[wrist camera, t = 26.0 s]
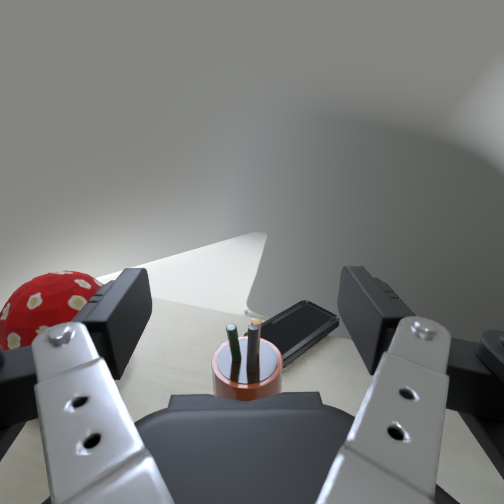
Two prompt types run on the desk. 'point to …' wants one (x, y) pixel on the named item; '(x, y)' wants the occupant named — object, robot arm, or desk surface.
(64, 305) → the decorative mushroom
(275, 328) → the phone
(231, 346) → the pencil cup
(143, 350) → the desk surface
